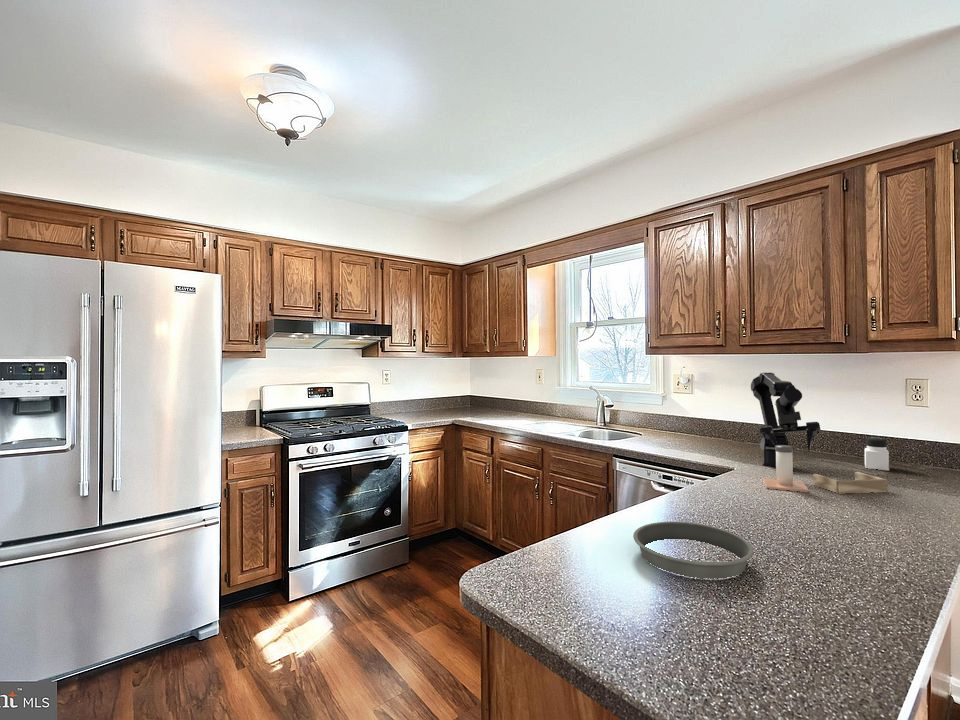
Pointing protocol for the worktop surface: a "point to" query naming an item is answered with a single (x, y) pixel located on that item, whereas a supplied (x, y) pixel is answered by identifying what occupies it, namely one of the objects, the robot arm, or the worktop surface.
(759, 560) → the worktop surface
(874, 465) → the medicine bottle
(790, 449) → the cream spice jar
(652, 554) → the grey thin ring
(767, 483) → the terracotta tile
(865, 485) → the birch stall
